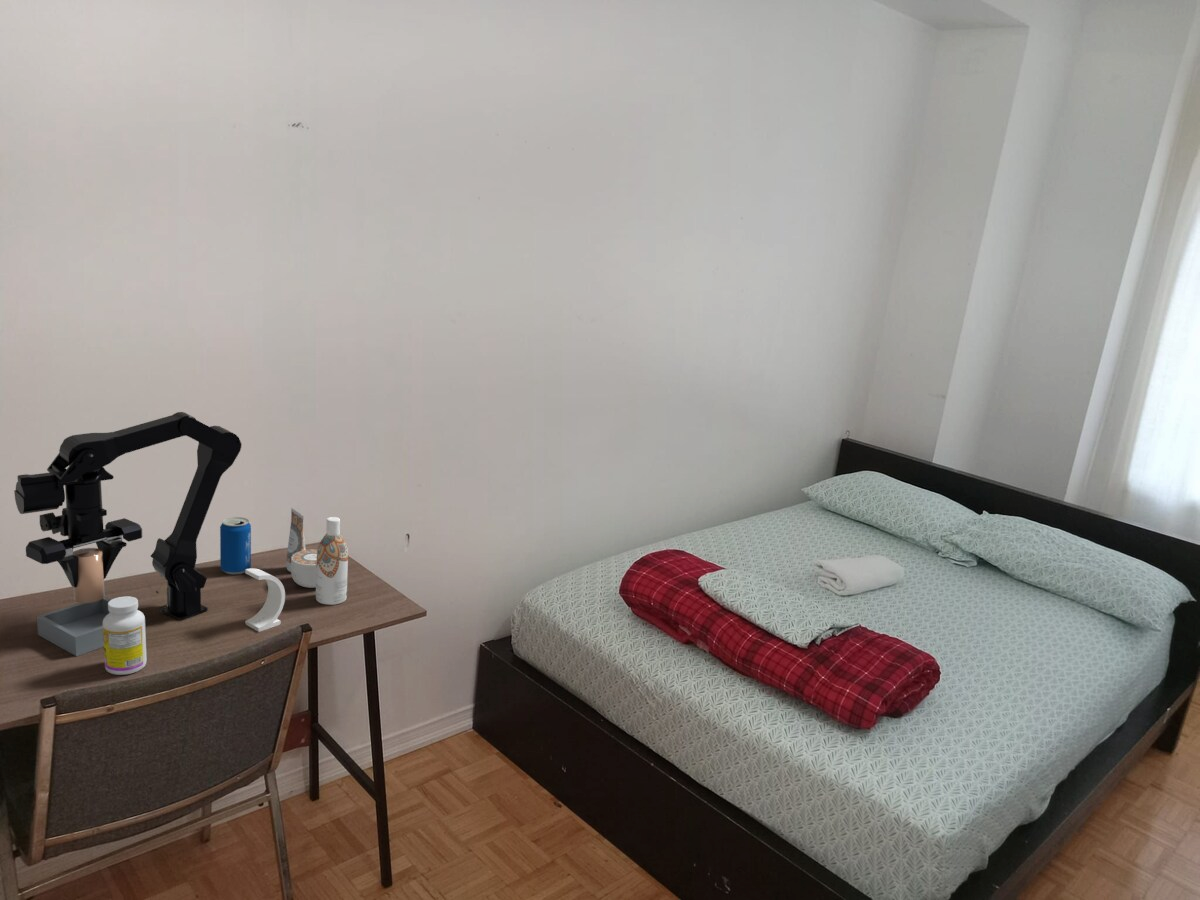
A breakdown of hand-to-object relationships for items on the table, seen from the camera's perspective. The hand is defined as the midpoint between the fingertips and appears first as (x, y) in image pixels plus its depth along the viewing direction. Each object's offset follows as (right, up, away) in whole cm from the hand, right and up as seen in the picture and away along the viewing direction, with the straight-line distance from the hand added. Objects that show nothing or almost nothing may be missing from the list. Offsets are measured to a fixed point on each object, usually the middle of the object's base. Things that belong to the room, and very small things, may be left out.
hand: (88, 582), depth 165 cm
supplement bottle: (+11, -14, -7) cm, 20 cm away
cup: (0, -3, +1) cm, 3 cm away
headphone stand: (+28, -11, +13) cm, 33 cm away
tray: (-1, -10, +3) cm, 11 cm away
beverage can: (+12, -3, +37) cm, 39 cm away
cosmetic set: (+31, -6, +34) cm, 46 cm away
